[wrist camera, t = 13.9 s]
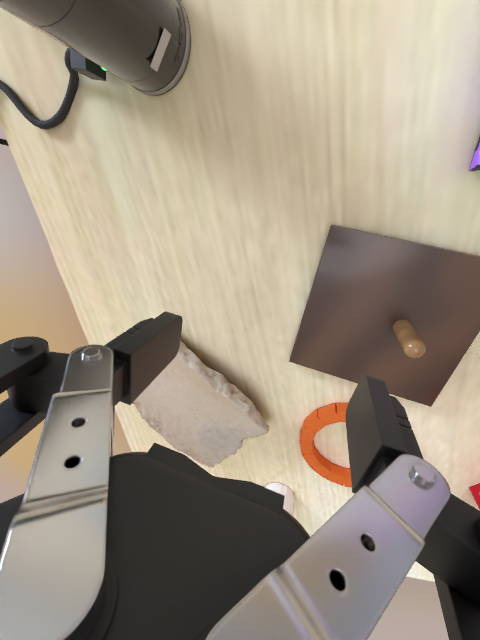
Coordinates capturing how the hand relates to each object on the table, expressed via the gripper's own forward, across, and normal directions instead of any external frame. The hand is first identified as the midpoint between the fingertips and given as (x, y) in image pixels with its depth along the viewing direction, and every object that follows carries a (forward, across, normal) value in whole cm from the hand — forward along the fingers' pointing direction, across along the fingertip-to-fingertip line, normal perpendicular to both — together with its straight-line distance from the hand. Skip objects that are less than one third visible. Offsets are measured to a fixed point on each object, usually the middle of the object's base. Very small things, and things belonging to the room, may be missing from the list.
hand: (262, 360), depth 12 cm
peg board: (+25, -12, +5) cm, 28 cm away
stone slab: (+26, +11, +28) cm, 39 cm away
